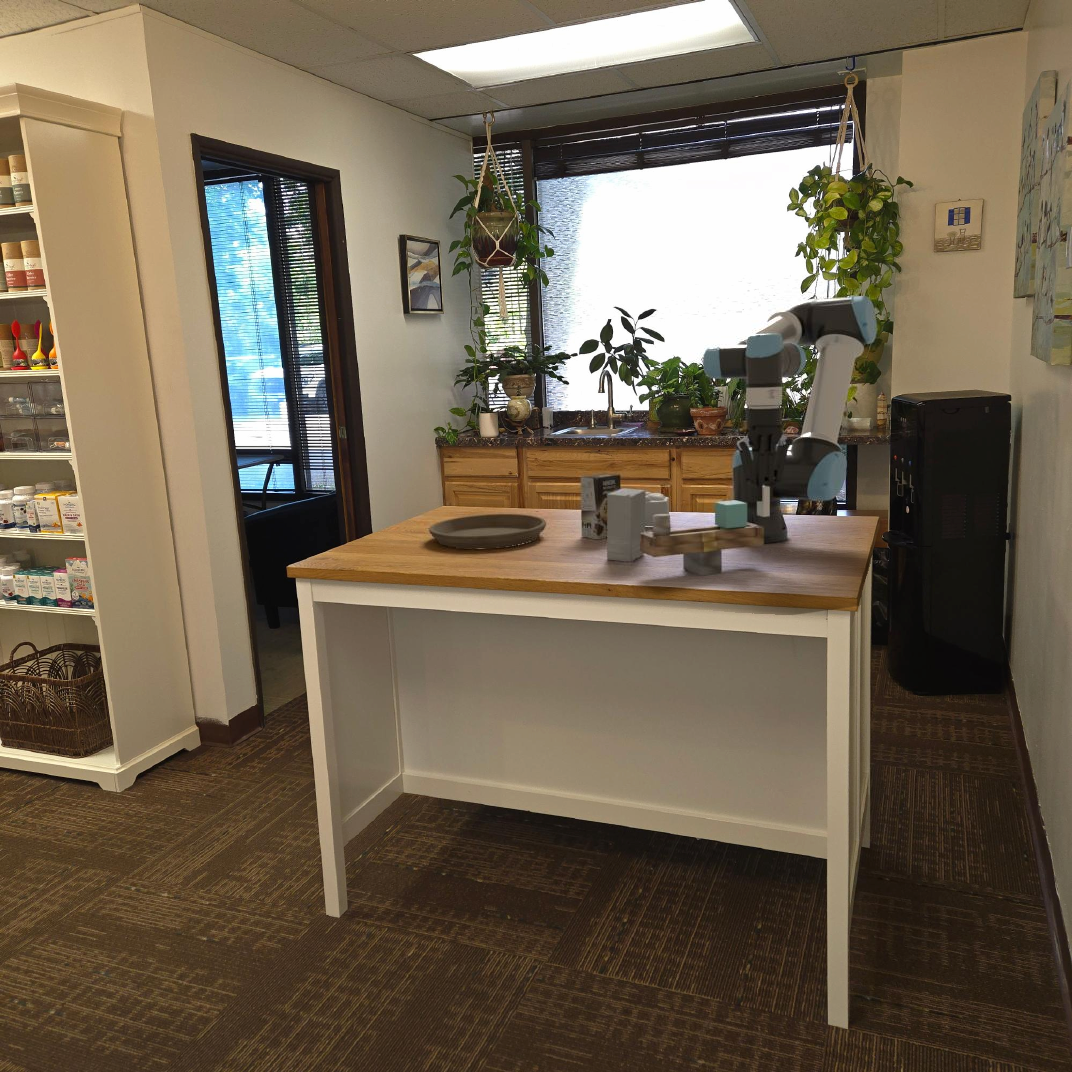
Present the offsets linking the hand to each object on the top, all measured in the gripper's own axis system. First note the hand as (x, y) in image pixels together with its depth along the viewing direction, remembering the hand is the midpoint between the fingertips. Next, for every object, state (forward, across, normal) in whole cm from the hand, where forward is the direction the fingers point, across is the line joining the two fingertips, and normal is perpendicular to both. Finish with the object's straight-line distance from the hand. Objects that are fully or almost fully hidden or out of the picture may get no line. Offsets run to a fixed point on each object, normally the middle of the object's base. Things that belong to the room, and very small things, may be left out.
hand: (763, 515), depth 205 cm
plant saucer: (+11, -47, +59) cm, 76 cm away
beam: (+11, -15, 0) cm, 18 cm away
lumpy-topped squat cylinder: (+11, -2, +58) cm, 59 cm away
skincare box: (+11, -24, +20) cm, 33 cm away
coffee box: (+11, -19, +48) cm, 53 cm away
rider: (+4, -8, 0) cm, 9 cm away
